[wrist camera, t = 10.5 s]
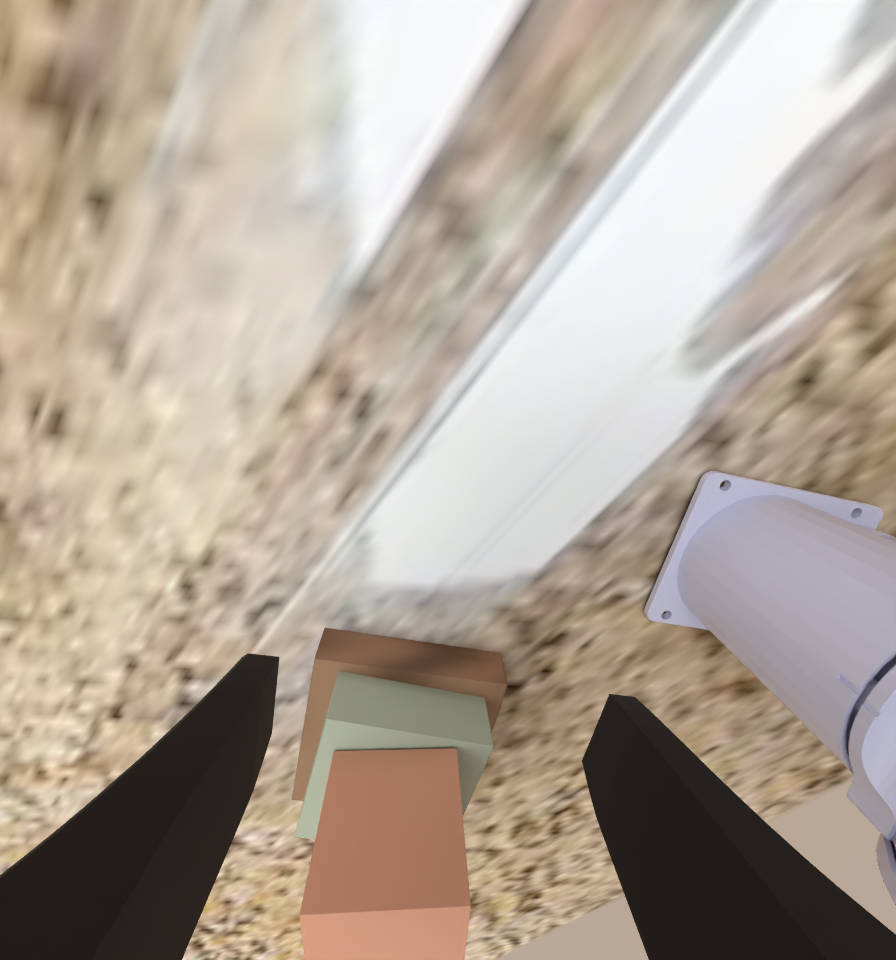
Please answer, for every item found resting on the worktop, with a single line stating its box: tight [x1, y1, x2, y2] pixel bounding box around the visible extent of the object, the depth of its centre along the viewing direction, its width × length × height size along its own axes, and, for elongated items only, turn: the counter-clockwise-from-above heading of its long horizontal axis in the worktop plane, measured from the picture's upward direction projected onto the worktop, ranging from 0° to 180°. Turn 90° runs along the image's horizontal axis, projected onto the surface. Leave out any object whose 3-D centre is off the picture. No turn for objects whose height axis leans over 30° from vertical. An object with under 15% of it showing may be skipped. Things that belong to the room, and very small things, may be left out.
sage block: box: [295, 671, 494, 839], centre depth 19 cm, size 7×7×2 cm
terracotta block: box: [300, 748, 471, 960], centre depth 15 cm, size 5×5×5 cm
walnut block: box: [292, 628, 508, 801], centre depth 21 cm, size 9×9×2 cm
